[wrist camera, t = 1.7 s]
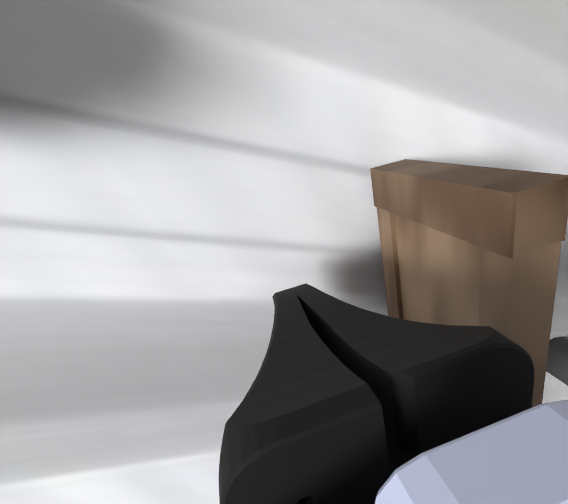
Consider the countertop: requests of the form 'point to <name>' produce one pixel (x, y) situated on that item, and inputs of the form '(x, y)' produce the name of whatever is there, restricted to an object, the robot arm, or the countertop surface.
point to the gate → (473, 248)
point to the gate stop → (558, 359)
